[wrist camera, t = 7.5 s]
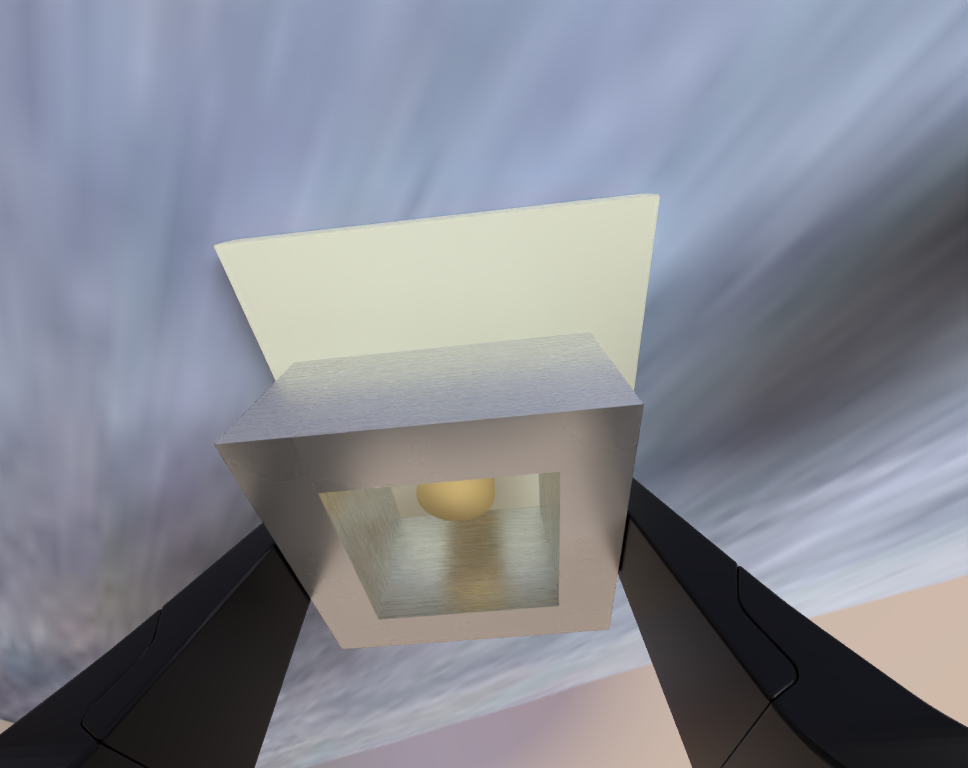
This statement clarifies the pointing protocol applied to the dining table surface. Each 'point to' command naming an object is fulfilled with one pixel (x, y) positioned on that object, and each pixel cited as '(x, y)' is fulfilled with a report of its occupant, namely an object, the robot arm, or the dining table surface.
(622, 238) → the keeper
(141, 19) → the dining table surface
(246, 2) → the dining table surface
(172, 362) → the dining table surface
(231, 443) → the link
